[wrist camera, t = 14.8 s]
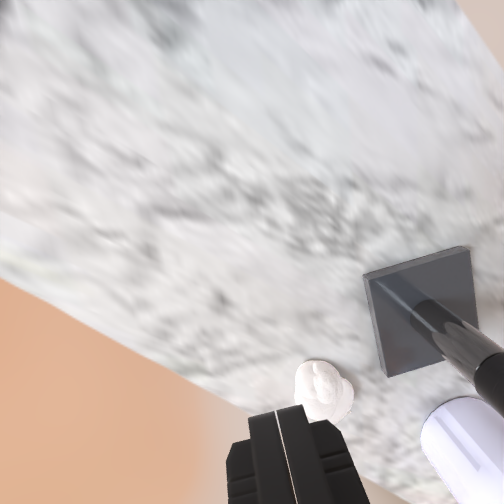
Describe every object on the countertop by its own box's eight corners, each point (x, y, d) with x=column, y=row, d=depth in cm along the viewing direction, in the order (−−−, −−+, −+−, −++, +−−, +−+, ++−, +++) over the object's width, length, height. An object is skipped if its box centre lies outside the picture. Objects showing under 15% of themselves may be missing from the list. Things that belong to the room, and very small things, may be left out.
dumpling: (277, 389, 44) (283, 404, 40) (304, 346, 44) (312, 356, 40) (334, 423, 44) (345, 441, 40) (360, 381, 44) (374, 394, 40)
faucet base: (362, 274, 41) (422, 330, 30) (460, 245, 41) (556, 289, 30) (381, 370, 44) (442, 452, 33) (472, 342, 45) (562, 413, 33)
